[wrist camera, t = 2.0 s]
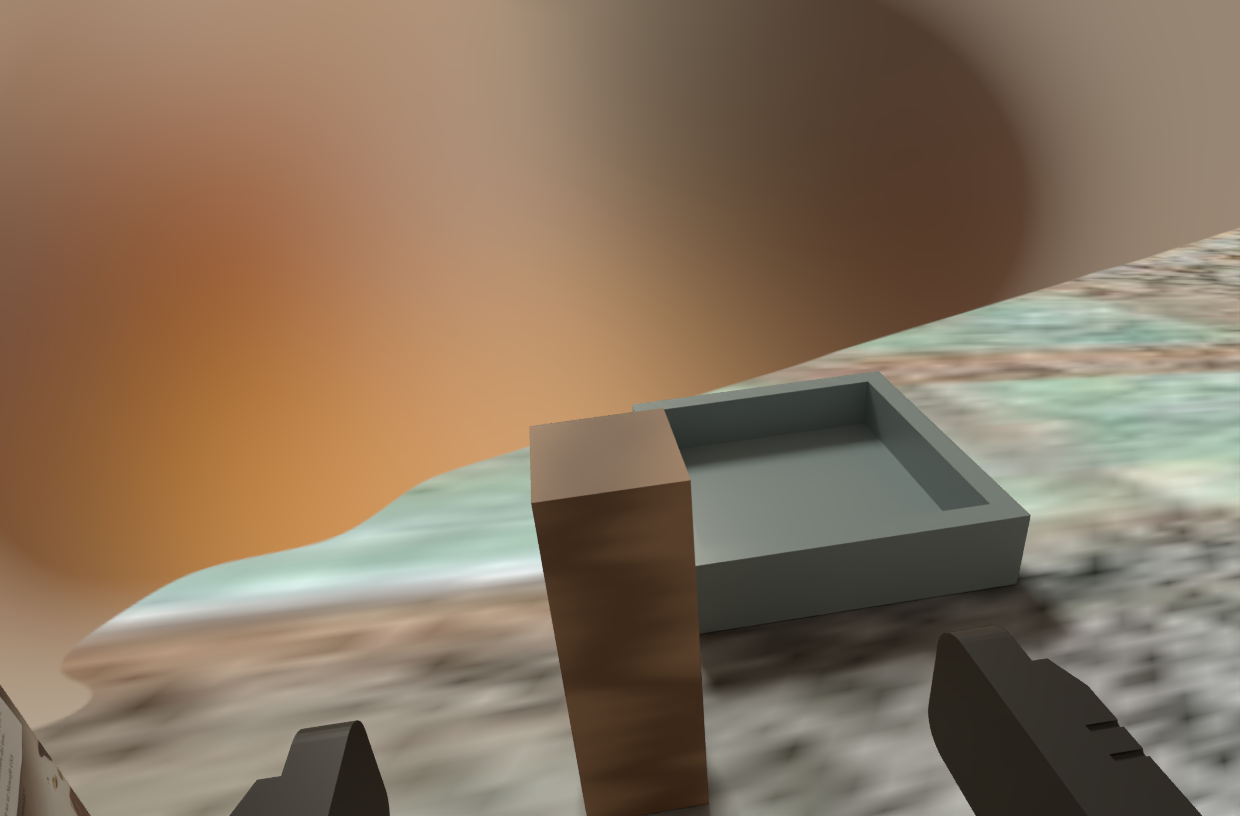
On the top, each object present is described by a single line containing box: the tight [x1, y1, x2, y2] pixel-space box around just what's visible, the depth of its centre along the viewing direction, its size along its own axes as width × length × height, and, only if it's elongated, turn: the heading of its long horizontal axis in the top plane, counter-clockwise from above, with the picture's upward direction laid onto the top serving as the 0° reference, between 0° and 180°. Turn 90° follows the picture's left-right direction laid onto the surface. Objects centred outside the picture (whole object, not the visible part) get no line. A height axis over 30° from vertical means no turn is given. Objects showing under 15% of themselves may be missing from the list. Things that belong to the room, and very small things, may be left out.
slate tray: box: [632, 371, 1031, 634], centre depth 41 cm, size 16×16×4 cm
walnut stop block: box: [530, 408, 709, 816], centre depth 25 cm, size 4×4×14 cm
